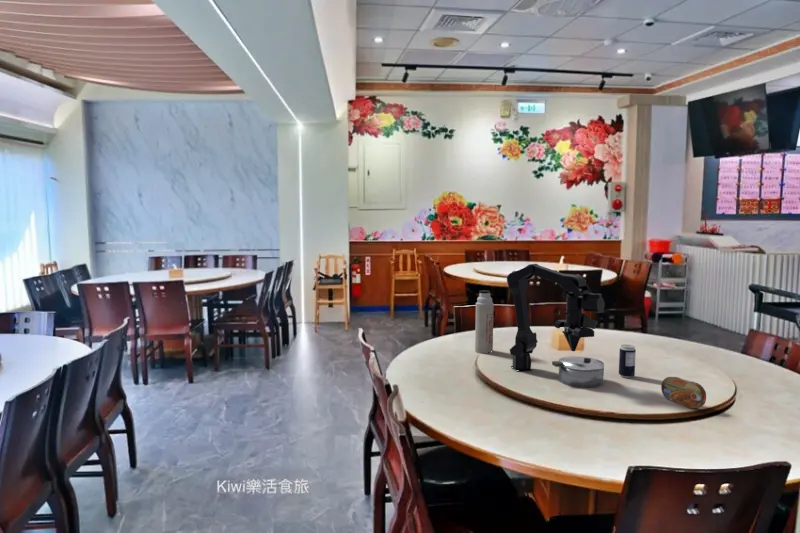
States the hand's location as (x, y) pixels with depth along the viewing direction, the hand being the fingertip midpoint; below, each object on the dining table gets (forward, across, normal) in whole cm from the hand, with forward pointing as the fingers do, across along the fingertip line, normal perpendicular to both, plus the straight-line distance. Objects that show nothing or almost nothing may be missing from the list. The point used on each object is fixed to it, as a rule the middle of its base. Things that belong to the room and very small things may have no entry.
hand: (573, 351), depth 201 cm
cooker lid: (+5, 0, -2) cm, 6 cm away
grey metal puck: (+12, 0, -3) cm, 12 cm away
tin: (+12, -29, -24) cm, 39 cm away
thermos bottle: (+12, +49, +17) cm, 53 cm away
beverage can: (+12, +2, -24) cm, 27 cm away
